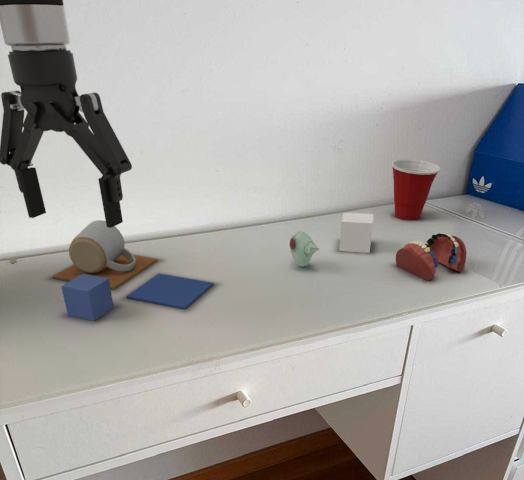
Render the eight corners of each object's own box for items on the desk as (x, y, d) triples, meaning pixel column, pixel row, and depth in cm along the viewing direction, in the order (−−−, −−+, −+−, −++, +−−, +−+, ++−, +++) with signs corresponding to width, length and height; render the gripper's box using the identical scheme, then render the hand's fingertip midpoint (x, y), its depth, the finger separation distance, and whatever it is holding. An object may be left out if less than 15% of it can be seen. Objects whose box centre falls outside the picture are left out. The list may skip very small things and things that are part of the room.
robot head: (321, 272, 94) (323, 236, 90) (301, 276, 92) (302, 240, 89) (299, 257, 100) (300, 223, 96) (280, 261, 98) (281, 226, 95)
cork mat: (53, 278, 92) (52, 276, 92) (101, 251, 103) (101, 249, 103) (113, 289, 88) (113, 287, 88) (157, 260, 99) (157, 258, 99)
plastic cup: (414, 227, 115) (423, 171, 109) (375, 216, 122) (381, 163, 115) (441, 217, 121) (450, 163, 115) (402, 207, 128) (409, 156, 122)
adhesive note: (341, 240, 108) (343, 212, 105) (370, 242, 107) (373, 213, 104) (339, 251, 103) (341, 221, 100) (369, 253, 102) (372, 223, 99)
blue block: (67, 315, 80) (60, 286, 77) (88, 302, 84) (82, 273, 81) (94, 321, 78) (88, 291, 76) (113, 307, 82) (108, 278, 80)
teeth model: (393, 234, 92) (442, 224, 97) (387, 267, 96) (435, 255, 101) (426, 251, 86) (477, 239, 91) (419, 285, 89) (468, 272, 94)
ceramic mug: (70, 274, 92) (61, 233, 88) (89, 257, 99) (83, 218, 95) (126, 279, 91) (120, 237, 87) (142, 261, 98) (138, 221, 94)
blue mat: (126, 298, 85) (126, 296, 85) (158, 275, 93) (158, 273, 93) (185, 309, 82) (185, 307, 81) (213, 284, 89) (213, 282, 89)
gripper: (144, 46, 62) (164, 220, 73) (-14, 48, 70) (26, 204, 81) (106, 48, 56) (134, 237, 67) (-62, 50, 64) (-12, 218, 75)
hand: (75, 220), depth 74 cm, fingers open, 13 cm apart
